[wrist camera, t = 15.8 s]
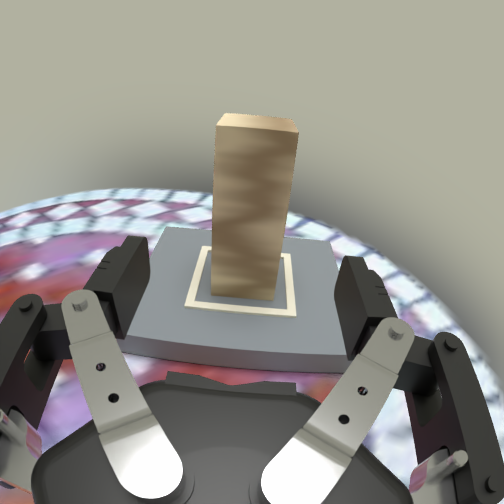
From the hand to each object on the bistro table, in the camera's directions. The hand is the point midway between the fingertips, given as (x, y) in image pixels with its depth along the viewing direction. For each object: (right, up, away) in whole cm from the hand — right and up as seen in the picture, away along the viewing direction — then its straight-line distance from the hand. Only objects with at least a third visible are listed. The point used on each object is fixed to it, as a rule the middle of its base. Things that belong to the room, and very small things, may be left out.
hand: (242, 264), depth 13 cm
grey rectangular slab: (0, -3, +13) cm, 14 cm away
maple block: (0, -2, +12) cm, 12 cm away
